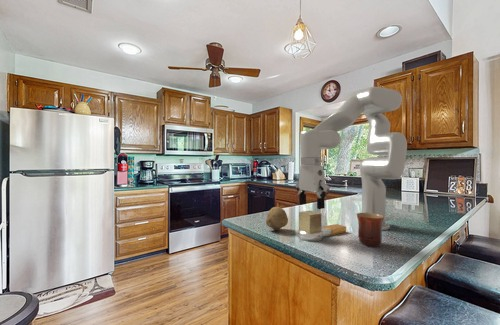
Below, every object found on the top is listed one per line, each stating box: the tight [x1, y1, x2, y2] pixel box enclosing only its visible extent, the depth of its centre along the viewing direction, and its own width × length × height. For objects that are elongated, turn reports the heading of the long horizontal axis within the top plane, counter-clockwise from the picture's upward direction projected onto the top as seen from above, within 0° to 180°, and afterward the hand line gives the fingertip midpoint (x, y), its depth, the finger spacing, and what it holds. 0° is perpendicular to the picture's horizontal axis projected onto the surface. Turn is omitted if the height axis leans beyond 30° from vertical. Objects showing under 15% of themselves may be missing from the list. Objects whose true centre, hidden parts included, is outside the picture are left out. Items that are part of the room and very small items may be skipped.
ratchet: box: [297, 223, 347, 242], centre depth 89 cm, size 22×9×6 cm, turn 118°
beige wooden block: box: [298, 210, 323, 234], centre depth 86 cm, size 6×6×7 cm
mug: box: [356, 212, 384, 248], centre depth 78 cm, size 12×9×10 cm
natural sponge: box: [265, 206, 289, 231], centre depth 94 cm, size 9×9×10 cm
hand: (311, 206), depth 86 cm, fingers open, 9 cm apart
